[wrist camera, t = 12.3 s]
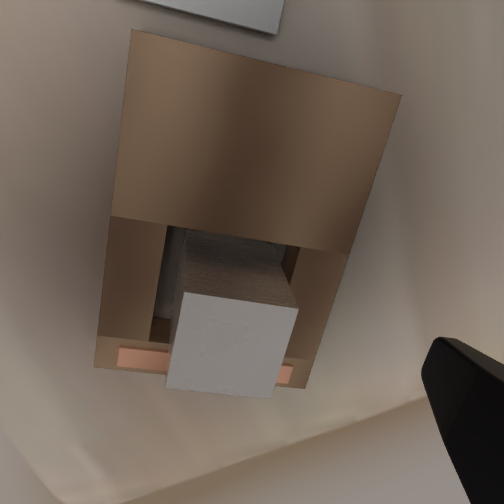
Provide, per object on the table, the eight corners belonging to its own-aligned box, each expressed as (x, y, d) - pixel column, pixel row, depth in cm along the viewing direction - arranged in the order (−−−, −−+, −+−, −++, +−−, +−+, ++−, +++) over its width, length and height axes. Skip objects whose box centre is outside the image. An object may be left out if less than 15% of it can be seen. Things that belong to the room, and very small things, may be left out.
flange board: (382, 90, 19) (404, 95, 17) (296, 363, 24) (305, 391, 22) (137, 31, 17) (130, 28, 15) (101, 341, 22) (92, 370, 20)
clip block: (271, 242, 21) (298, 308, 16) (252, 315, 23) (270, 399, 17) (186, 227, 21) (184, 292, 15) (172, 304, 22) (165, 387, 17)
